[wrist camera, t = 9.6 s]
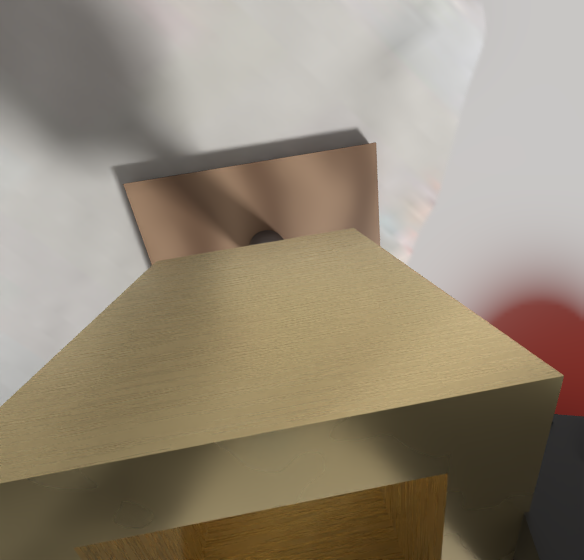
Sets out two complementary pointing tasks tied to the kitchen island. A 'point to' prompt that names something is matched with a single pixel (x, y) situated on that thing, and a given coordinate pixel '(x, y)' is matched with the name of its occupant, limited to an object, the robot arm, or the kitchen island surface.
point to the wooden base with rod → (258, 202)
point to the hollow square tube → (277, 418)
